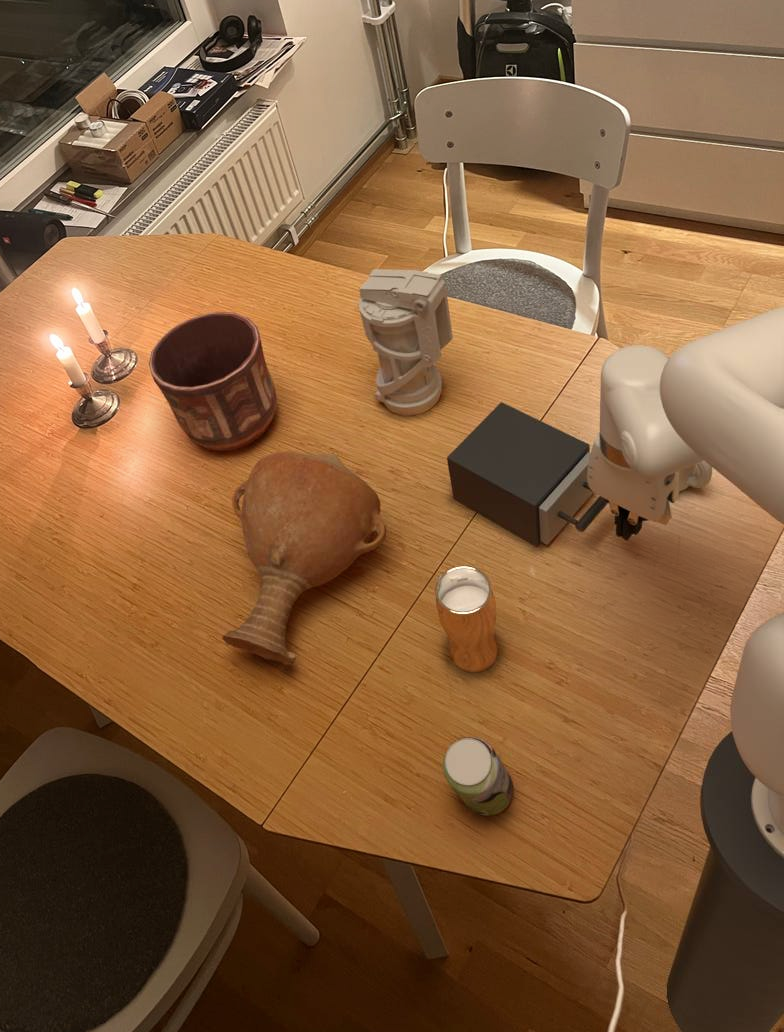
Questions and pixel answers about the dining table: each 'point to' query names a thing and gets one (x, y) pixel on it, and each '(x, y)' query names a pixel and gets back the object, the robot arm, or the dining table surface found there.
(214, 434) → the pottery
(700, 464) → the cup
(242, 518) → the jug
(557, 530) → the drawer
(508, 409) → the cabinet
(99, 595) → the dining table surface
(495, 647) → the beer glass
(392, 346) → the lantern
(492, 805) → the beverage can
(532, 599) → the dining table surface
